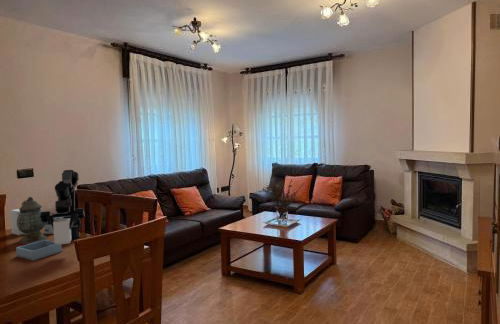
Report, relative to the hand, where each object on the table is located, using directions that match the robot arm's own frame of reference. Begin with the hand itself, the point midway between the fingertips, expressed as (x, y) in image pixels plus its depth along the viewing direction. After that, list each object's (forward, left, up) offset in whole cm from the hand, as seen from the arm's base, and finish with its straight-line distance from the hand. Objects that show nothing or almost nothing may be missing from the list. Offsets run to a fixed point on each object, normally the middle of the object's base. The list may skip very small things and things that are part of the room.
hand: (62, 229), depth 158 cm
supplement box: (-17, -68, -14) cm, 71 cm away
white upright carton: (-1, -1, -7) cm, 7 cm away
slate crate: (+2, -16, -13) cm, 21 cm away
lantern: (-11, -46, -14) cm, 49 cm away
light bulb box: (-27, -51, -14) cm, 59 cm away
